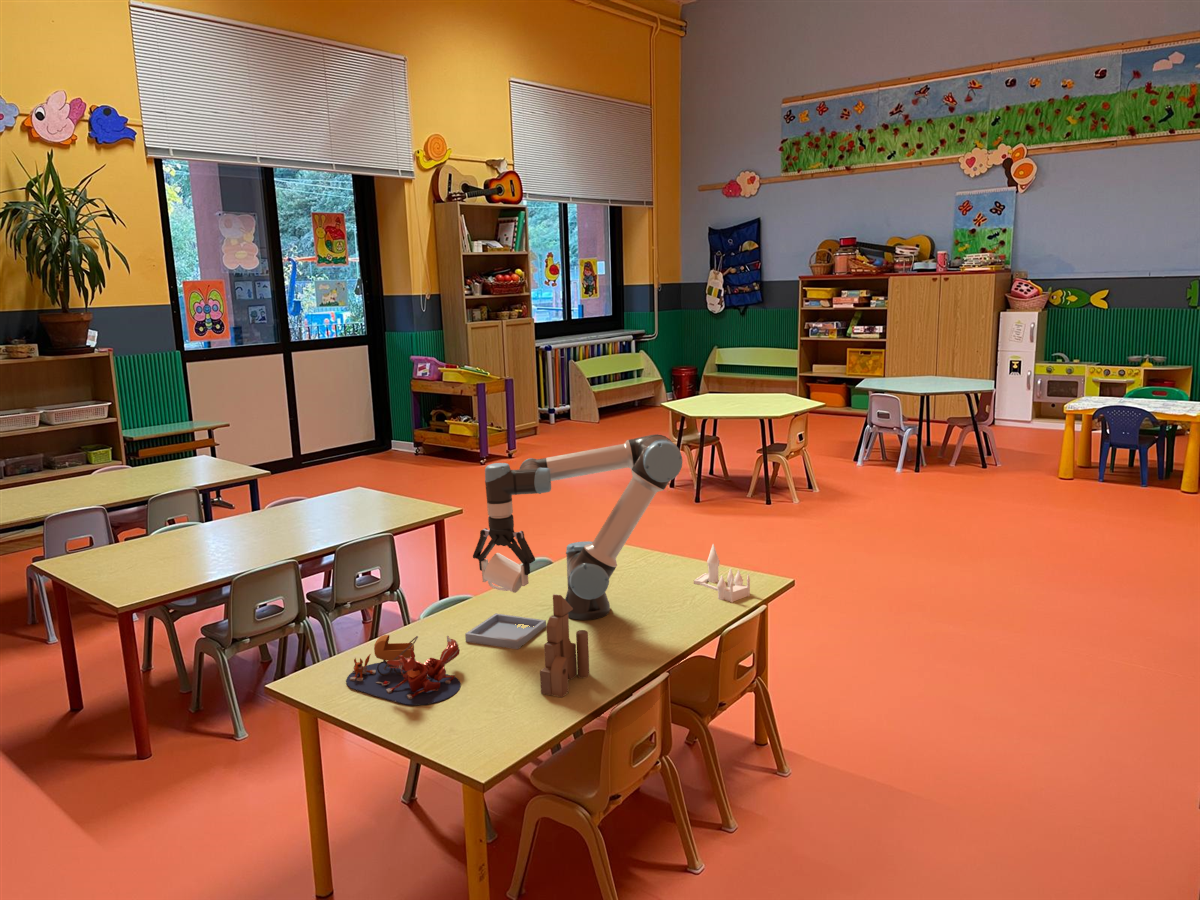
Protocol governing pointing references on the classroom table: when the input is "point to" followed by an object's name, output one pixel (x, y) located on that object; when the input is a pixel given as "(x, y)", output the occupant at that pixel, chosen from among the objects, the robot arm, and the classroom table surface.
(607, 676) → the classroom table surface
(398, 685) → the toy playset
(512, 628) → the tray
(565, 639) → the wooden toy
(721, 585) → the toy castle
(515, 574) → the mug
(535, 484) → the robot arm
